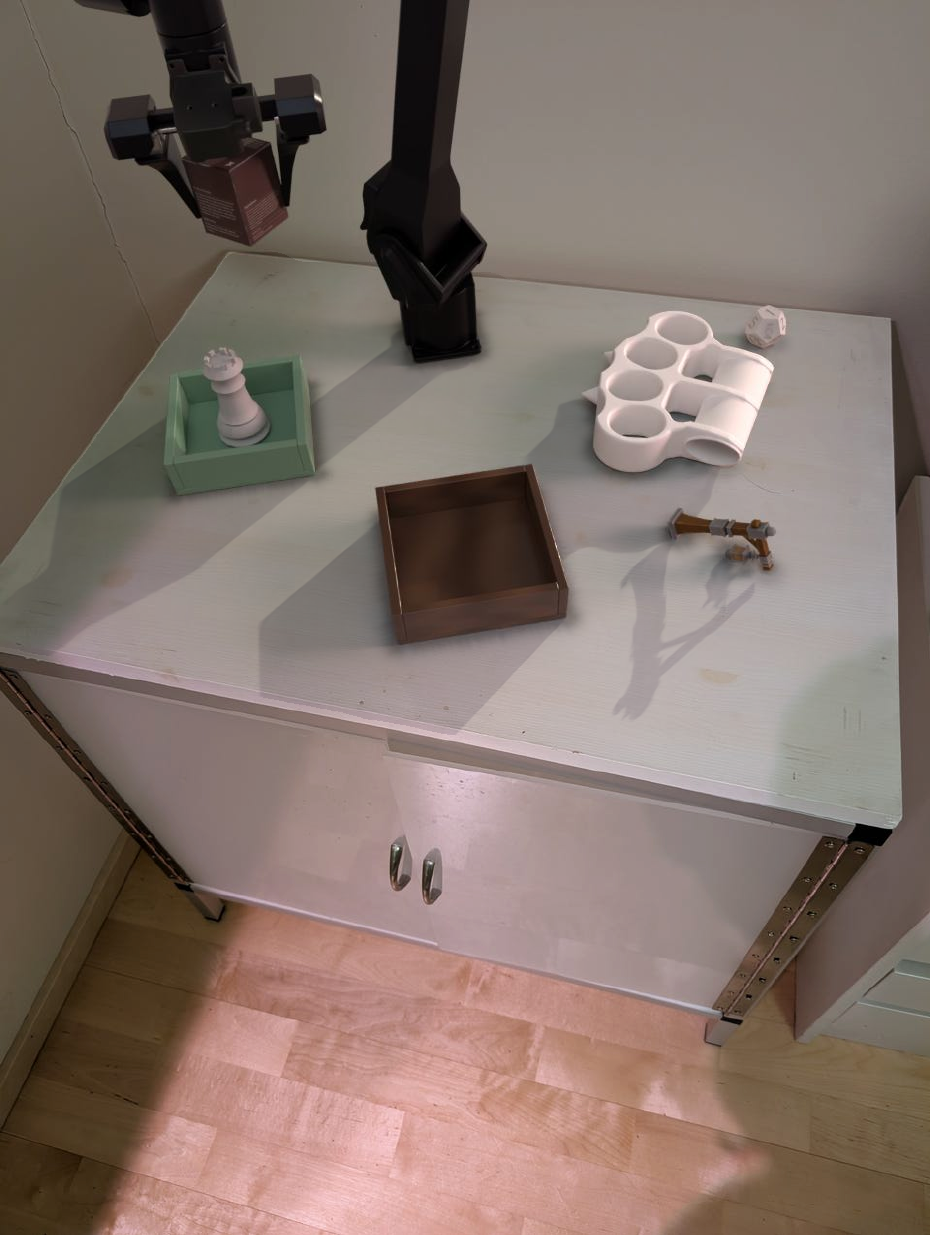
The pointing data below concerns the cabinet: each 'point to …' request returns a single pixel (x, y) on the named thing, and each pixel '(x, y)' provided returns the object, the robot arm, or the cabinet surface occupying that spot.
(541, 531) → the walnut tray
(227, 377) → the rook chess piece
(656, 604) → the cabinet surface
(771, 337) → the game die
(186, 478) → the green bin
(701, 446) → the white brass knuckles
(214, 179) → the box
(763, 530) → the wooden post with brackets
